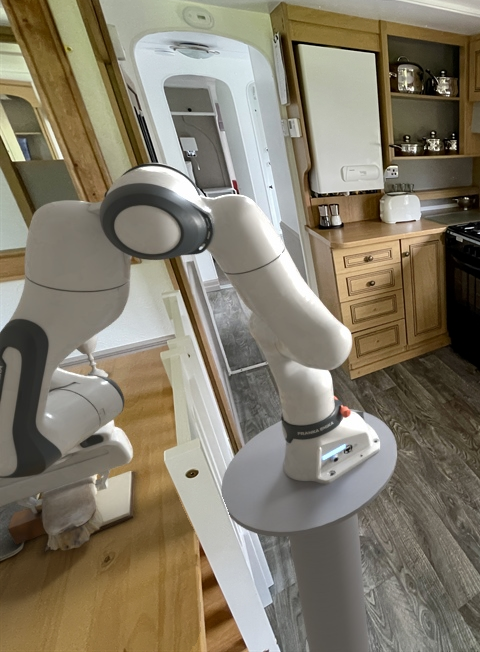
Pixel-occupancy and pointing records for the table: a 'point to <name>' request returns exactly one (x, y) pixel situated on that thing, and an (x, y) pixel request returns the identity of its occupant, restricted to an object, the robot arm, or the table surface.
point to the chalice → (88, 349)
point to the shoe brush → (71, 513)
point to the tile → (114, 501)
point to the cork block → (26, 525)
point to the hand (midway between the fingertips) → (73, 498)
